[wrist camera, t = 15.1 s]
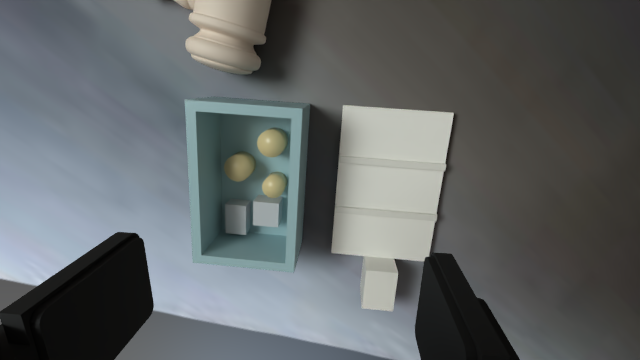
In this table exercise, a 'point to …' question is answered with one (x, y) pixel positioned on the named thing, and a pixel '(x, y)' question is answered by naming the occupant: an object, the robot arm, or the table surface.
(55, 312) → the robot arm
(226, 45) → the gavel
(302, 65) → the table surface
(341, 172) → the lid
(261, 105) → the tub
